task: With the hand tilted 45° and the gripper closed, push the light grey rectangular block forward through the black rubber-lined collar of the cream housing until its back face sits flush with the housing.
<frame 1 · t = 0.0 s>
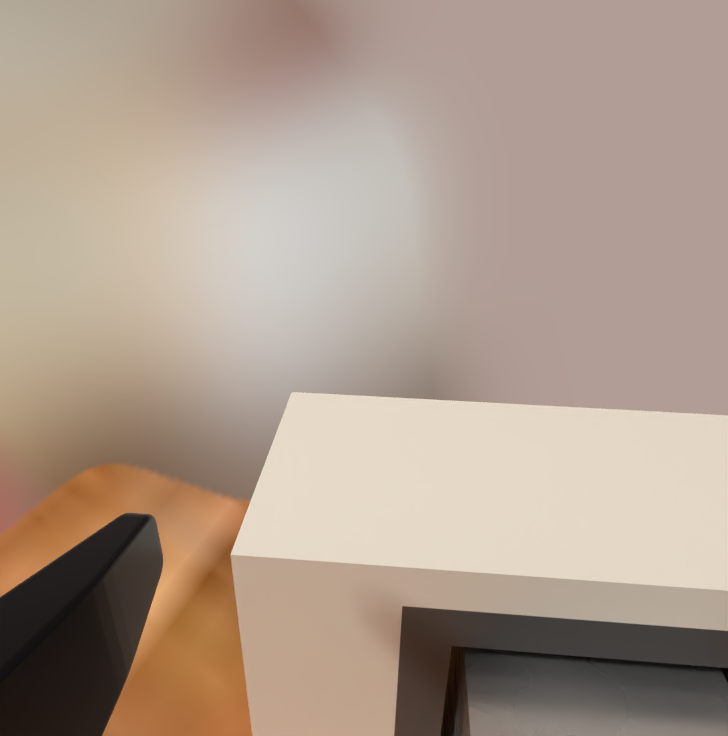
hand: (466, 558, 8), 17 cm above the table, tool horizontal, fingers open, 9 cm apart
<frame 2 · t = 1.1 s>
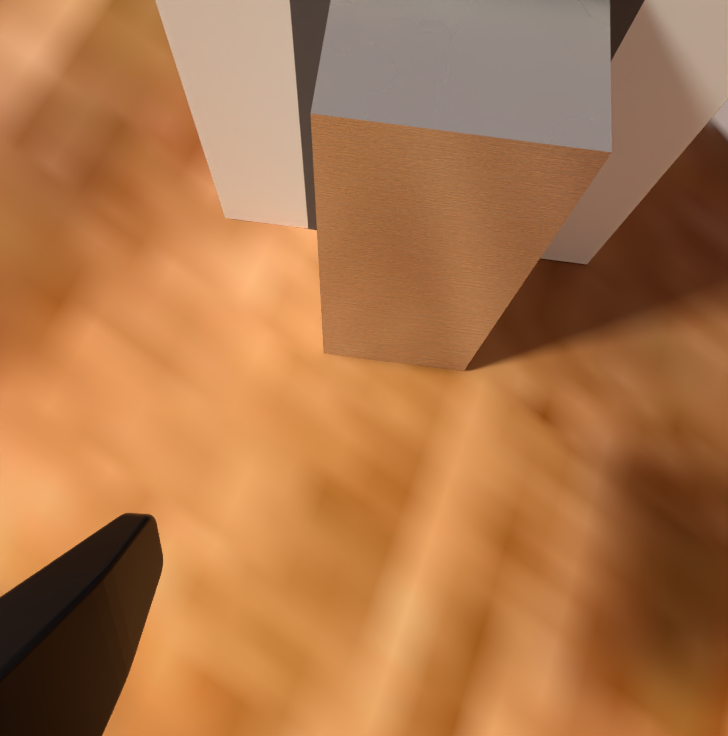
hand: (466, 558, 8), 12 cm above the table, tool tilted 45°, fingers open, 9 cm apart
housing: (413, 175, 24), on the table
light grey rectangular block: (431, 131, 17), point 6 cm above the table, slide at 5.0 cm
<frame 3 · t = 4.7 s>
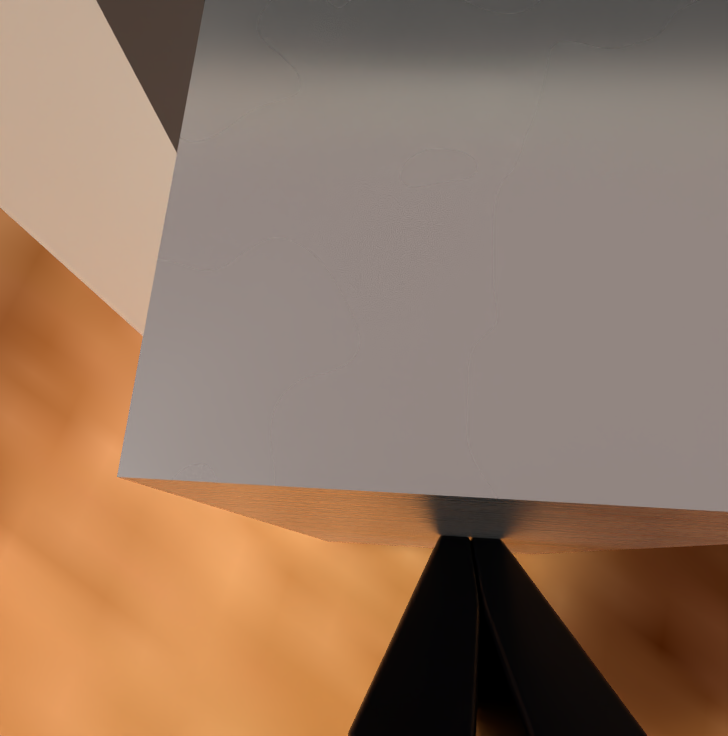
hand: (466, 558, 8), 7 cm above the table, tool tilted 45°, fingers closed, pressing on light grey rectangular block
housing: (435, 280, 17), on the table
light grey rectangular block: (456, 244, 11), point 6 cm above the table, slide at 4.3 cm, touching gripper
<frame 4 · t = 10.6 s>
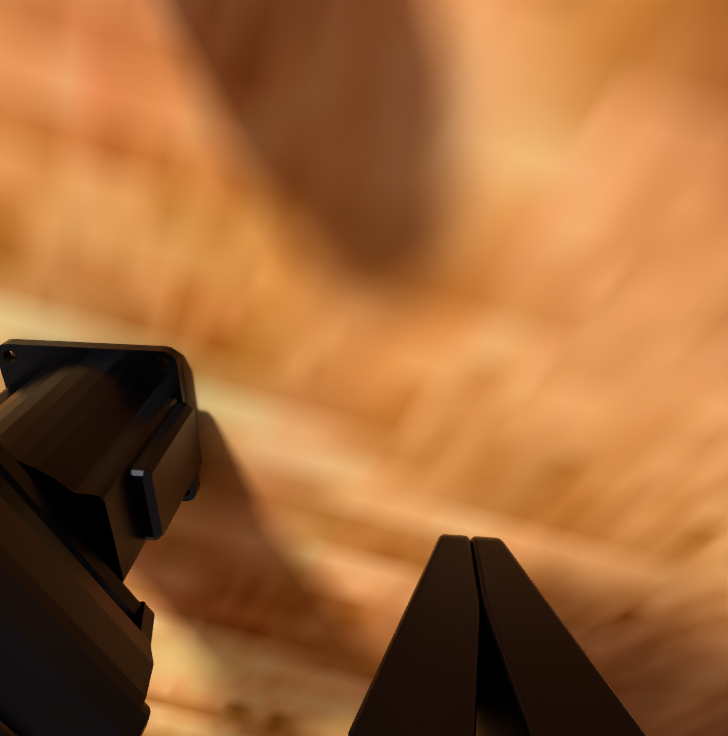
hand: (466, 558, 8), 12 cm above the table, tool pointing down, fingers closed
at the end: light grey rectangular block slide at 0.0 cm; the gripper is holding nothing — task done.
